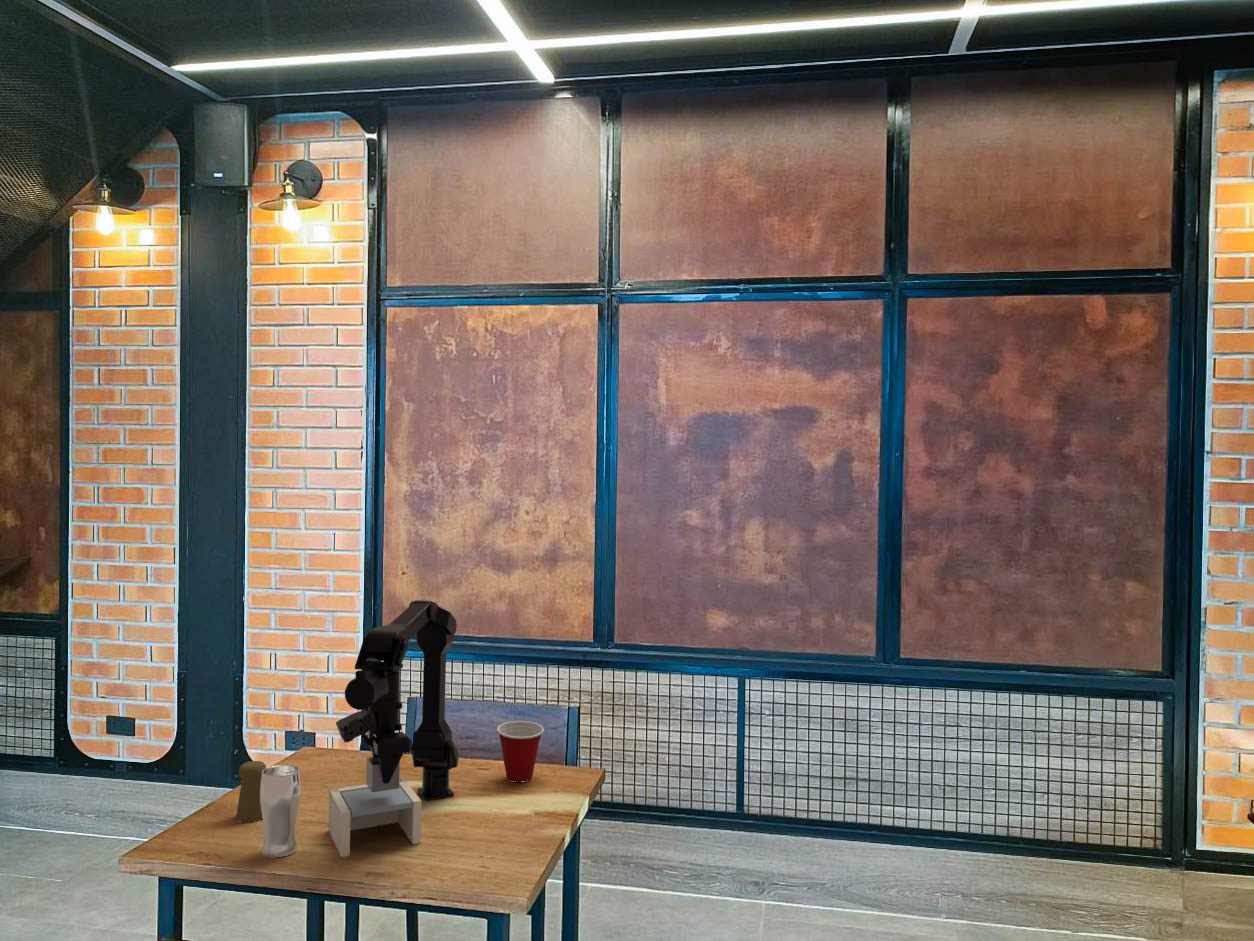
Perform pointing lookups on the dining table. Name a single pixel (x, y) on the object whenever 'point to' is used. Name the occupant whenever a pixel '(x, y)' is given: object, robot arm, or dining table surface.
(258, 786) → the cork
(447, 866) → the dining table surface
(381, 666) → the robot arm
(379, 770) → the block
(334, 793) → the white step stool
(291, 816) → the beer glass
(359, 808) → the trapdoor
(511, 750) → the plastic cup
